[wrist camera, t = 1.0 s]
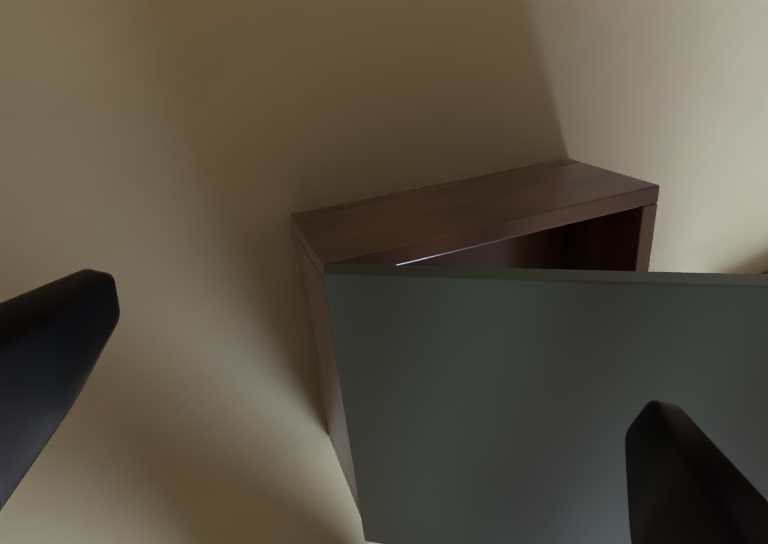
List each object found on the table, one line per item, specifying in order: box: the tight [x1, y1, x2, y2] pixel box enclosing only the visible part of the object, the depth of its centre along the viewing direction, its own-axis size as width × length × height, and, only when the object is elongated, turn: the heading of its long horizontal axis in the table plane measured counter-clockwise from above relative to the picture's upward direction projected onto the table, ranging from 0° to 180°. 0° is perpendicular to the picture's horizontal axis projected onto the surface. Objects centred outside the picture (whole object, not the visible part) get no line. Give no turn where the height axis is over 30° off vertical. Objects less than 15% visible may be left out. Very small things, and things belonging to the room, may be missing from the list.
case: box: [290, 159, 659, 516], centre depth 22 cm, size 13×11×5 cm
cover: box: [322, 264, 768, 544], centre depth 16 cm, size 14×11×1 cm
